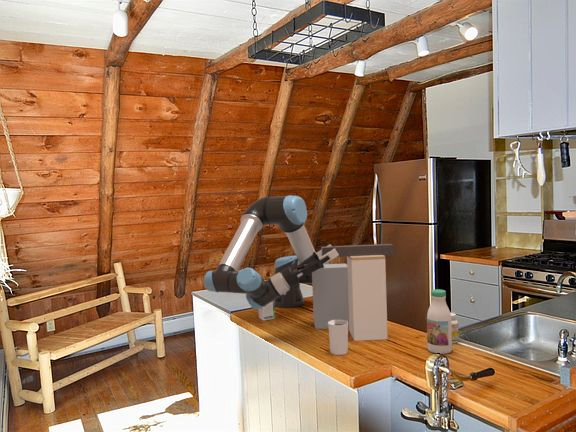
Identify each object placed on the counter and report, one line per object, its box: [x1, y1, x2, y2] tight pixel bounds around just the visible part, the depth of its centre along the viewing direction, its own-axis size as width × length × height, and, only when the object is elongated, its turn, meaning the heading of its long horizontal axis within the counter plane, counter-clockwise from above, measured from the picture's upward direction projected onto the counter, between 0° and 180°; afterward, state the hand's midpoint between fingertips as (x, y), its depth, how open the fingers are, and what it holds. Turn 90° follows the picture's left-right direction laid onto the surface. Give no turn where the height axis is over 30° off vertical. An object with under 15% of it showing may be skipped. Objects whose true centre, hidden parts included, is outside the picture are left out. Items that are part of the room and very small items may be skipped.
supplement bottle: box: [450, 312, 459, 344], centre depth 158 cm, size 5×5×10 cm
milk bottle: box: [426, 288, 453, 355], centre depth 149 cm, size 8×8×20 cm
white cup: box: [328, 320, 349, 356], centre depth 151 cm, size 7×7×10 cm
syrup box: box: [258, 300, 276, 322], centre depth 195 cm, size 6×6×14 cm
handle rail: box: [320, 243, 395, 258], centre depth 166 cm, size 4×26×4 cm, turn 92°
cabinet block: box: [346, 255, 389, 342], centre depth 167 cm, size 11×12×30 cm
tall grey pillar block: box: [311, 263, 349, 330], centre depth 182 cm, size 9×14×24 cm, turn 92°
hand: (334, 249), depth 165 cm, fingers open, 13 cm apart
